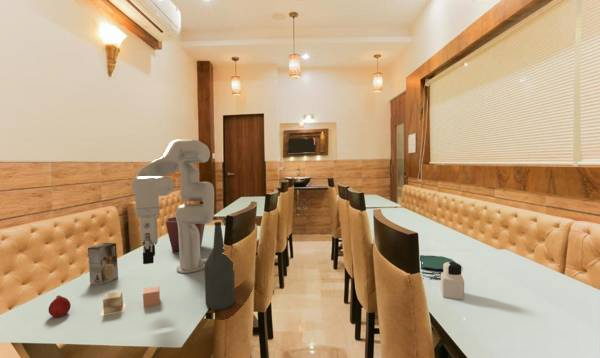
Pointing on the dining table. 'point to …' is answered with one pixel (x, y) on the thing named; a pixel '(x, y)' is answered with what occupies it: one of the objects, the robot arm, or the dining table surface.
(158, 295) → the terracotta block
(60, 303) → the onion
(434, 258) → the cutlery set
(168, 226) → the bucket
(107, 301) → the pale oak block
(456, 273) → the medicine bottle
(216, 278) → the bottle
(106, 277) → the coffee box
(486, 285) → the dining table surface
